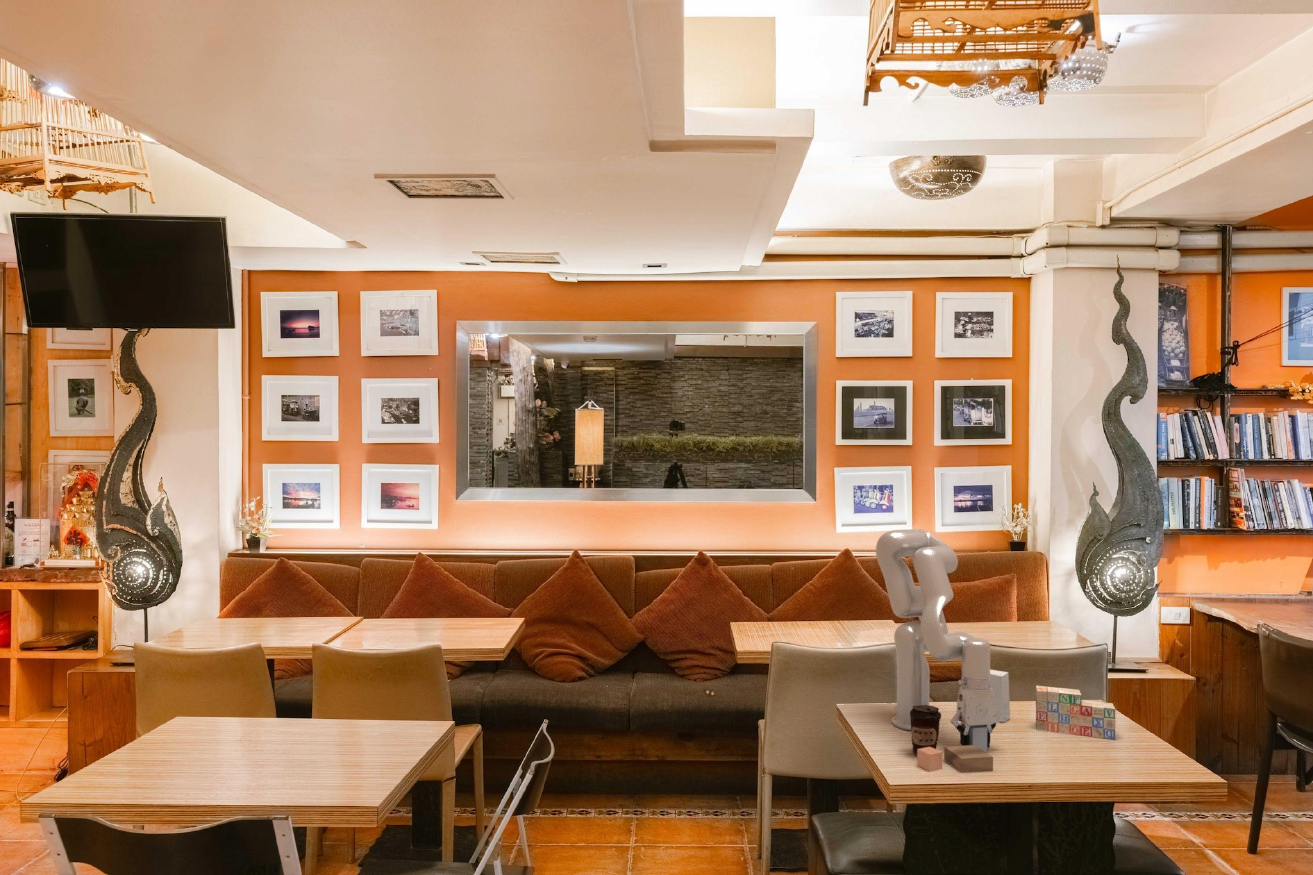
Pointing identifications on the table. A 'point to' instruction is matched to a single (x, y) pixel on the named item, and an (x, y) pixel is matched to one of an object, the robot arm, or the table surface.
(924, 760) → the terracotta cube
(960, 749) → the plinth
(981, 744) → the slate block
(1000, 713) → the skincare box
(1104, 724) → the stack of blocks
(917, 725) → the coffee cup
